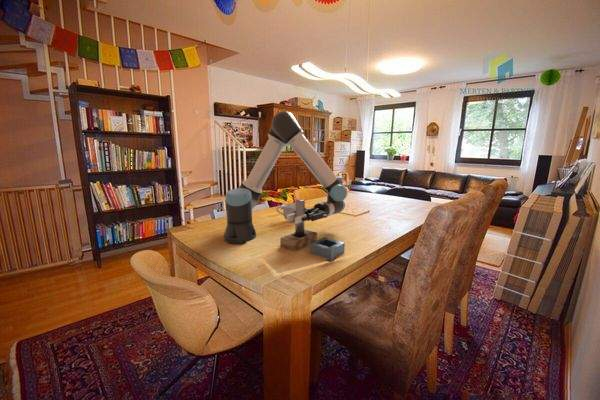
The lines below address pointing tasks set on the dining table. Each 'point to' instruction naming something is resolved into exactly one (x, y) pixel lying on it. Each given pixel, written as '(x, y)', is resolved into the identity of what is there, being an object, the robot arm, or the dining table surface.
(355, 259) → the dining table surface
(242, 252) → the dining table surface
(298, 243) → the brown rectangular block
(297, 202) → the grey brown square post
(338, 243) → the socket block
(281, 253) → the dining table surface
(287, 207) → the teacup
